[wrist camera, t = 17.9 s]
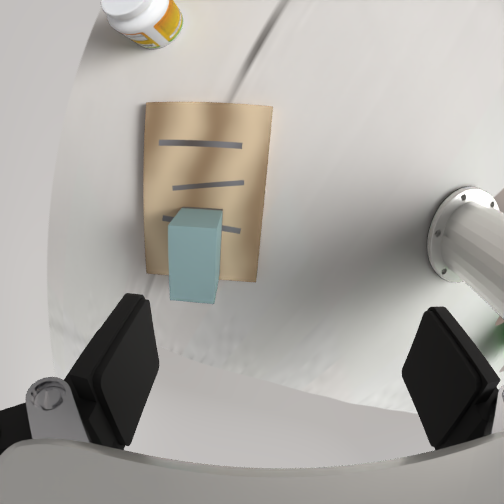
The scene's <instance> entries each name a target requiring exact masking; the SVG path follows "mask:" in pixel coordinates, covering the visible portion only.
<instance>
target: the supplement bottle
mask: <svg viewBox="0 0 504 504" xmlns="http://www.w3.org/2000/svg"><path fill="white" fill-rule="evenodd" d="M101 7H102V9H103V11H104V12H105V13H106V14H107V20H108V22H109V24H110V25H111V26H112V27H113V28H114V29H115V30H117V31H118V32H120V33H121V34H123V35H124V36H126V37H128V38H129V39H131V40H132V41H134V42H135V43H137V44H138V45H140V46H142V47H144V48H148V49H157V48H162V47H164V46H167V45H168V44H170V43H171V42H173V41H174V40H175V39H176V38H177V37H178V36H179V34H180V32H181V30H182V28H183V16H182V14H181V12H180V10H179V8H178V7H177V6H176V4H175V3H174V1H173V0H101Z"/></svg>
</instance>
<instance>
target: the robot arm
mask: <svg viewBox="0 0 504 504" xmlns="http://www.w3.org/2000/svg"><path fill="white" fill-rule="evenodd" d="M427 251H428V257H429V261H430V263H431V266H432V267H433V269H434V270H435V272H436V273H437V274H438V275H439V276H440V277H441V278H443V279H444V280H446V281H449V282H453V283H459V282H465V283H466V284H467V285H468V286H469V287H471V288H472V289H473V290H474V291H475V292H476V293H477V294H478V295H479V296H480V297H481V298H482V299H483V300H484V301H485V302H486V303H488V304H489V305H490V306H491V307H492V308H493V309H494V310H495V311H496V312H497V313H498V314H499V315H500V316H501V317H502V318H503V319H504V213H502V212H500V211H499V208H498V205H497V203H496V201H495V200H494V198H493V197H492V196H491V195H490V194H489V193H488V192H486V191H484V190H482V189H480V188H476V187H465V188H461V189H459V190H457V191H455V192H453V193H452V194H451V195H450V196H449V197H447V198H446V199H445V201H444V202H443V203H442V204H441V205H440V207H439V209H438V210H437V212H436V213H435V216H434V218H433V220H432V223H431V226H430V230H429V234H428V241H427ZM158 369H159V358H158V352H157V347H156V341H155V335H154V329H153V322H152V315H151V308H150V302H149V300H146V299H145V298H144V296H143V295H140V294H130V293H126V294H125V295H124V296H123V298H122V299H121V300H120V302H119V303H118V305H117V306H116V307H115V309H114V310H113V311H112V313H111V314H110V315H109V317H108V318H107V320H106V321H105V322H104V324H103V325H102V327H101V328H100V329H99V330H98V331H97V332H96V334H95V335H94V336H93V338H92V339H91V341H90V342H89V344H88V345H87V347H86V348H85V349H84V351H83V352H82V354H81V355H80V357H79V358H78V360H77V361H76V363H75V364H74V366H73V367H72V369H71V370H70V372H69V373H68V375H67V376H66V378H65V379H64V380H62V379H60V378H57V377H48V378H43V379H40V380H38V381H37V382H36V383H34V384H32V385H31V387H30V388H29V389H28V391H27V394H26V403H23V404H20V405H17V406H14V407H10V408H7V409H4V410H1V411H0V504H504V385H503V386H502V387H501V388H500V389H499V390H498V389H497V385H498V383H499V382H500V378H499V377H498V376H497V374H496V373H495V371H494V370H493V368H492V367H491V366H490V364H489V363H488V361H487V360H486V359H485V357H484V356H483V355H482V353H481V352H480V351H479V349H478V348H477V347H476V345H475V344H474V343H473V341H472V340H471V339H470V337H469V336H468V335H467V333H466V332H465V331H464V330H463V328H462V327H461V326H460V325H459V323H458V322H457V321H456V320H455V318H454V317H453V316H452V315H451V313H450V312H449V311H448V310H447V309H446V308H445V307H430V308H429V309H428V310H427V311H426V312H424V314H423V317H422V320H421V322H420V325H419V328H418V331H417V333H416V336H415V339H414V341H413V344H412V346H411V349H410V351H409V354H408V356H407V359H406V361H405V363H404V366H403V368H402V377H403V380H404V382H405V384H406V387H407V389H408V391H409V393H410V396H411V398H412V400H413V403H414V405H415V407H416V410H417V412H418V415H419V417H420V419H421V422H422V424H423V427H424V429H425V432H426V435H427V437H428V440H429V442H430V444H431V446H433V447H435V451H431V452H426V453H422V454H418V455H413V456H407V457H402V458H397V459H391V460H385V461H378V462H371V463H364V464H355V465H347V466H334V467H319V468H288V469H287V468H286V469H277V468H275V469H273V468H245V467H244V468H243V467H229V466H218V465H208V464H199V463H192V462H185V461H178V460H172V459H165V458H159V457H153V456H149V455H143V454H138V453H133V452H129V451H125V450H124V447H125V445H126V446H129V445H130V444H131V442H132V439H133V436H134V433H135V431H136V428H137V425H138V422H139V420H140V417H141V414H142V412H143V409H144V406H145V404H146V401H147V398H148V396H149V393H150V390H151V388H152V385H153V383H154V380H155V377H156V375H157V372H158Z"/></svg>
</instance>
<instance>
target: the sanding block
mask: <svg viewBox="0 0 504 504" xmlns="http://www.w3.org/2000/svg"><path fill="white" fill-rule="evenodd" d="M222 219H223V209H215V208H200V207H182V208H181V209H180V211H179V212H178V213H177V214H176V216H175V217H174V218H173V220H172V221H171V222H170V223H169V225H168V258H169V286H170V300H176V301H187V302H198V303H209V304H214V302H215V296H216V291H217V286H218V280H219V275H220V258H221V237H222Z"/></svg>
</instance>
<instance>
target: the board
mask: <svg viewBox="0 0 504 504" xmlns="http://www.w3.org/2000/svg"><path fill="white" fill-rule="evenodd" d="M272 111H273V107H271V106H261V105H248V104H233V103H212V102H148V103H146V115H145V135H144V173H143V198H144V236H145V257H146V272H147V273H148V274H159V275H169V258H168V225H169V223H170V222H171V221H172V220H173V218H174V217H175V216H176V214H177V213H178V212H179V211H180V209H181V208H182V207H200V208H215V209H223V219H222V237H221V258H220V275H219V280H231V281H245V282H256V276H257V267H258V257H259V247H260V237H261V226H262V216H263V206H264V196H265V185H266V175H267V164H268V154H269V143H270V133H271V122H272Z"/></svg>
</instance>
